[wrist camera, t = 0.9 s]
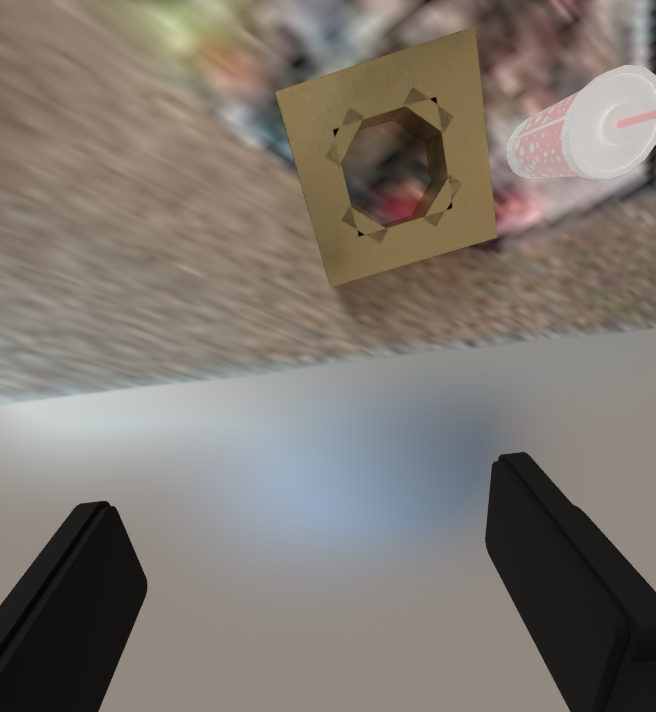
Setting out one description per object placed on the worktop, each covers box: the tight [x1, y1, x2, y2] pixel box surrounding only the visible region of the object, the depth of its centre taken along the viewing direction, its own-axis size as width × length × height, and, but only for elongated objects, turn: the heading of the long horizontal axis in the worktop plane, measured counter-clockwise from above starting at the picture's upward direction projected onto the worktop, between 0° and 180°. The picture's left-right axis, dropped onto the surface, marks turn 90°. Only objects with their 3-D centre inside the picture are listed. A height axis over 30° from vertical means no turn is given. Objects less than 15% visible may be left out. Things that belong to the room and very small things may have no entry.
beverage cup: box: [507, 65, 656, 180], centre depth 25 cm, size 6×6×14 cm
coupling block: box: [275, 26, 497, 287], centre depth 29 cm, size 14×14×4 cm
